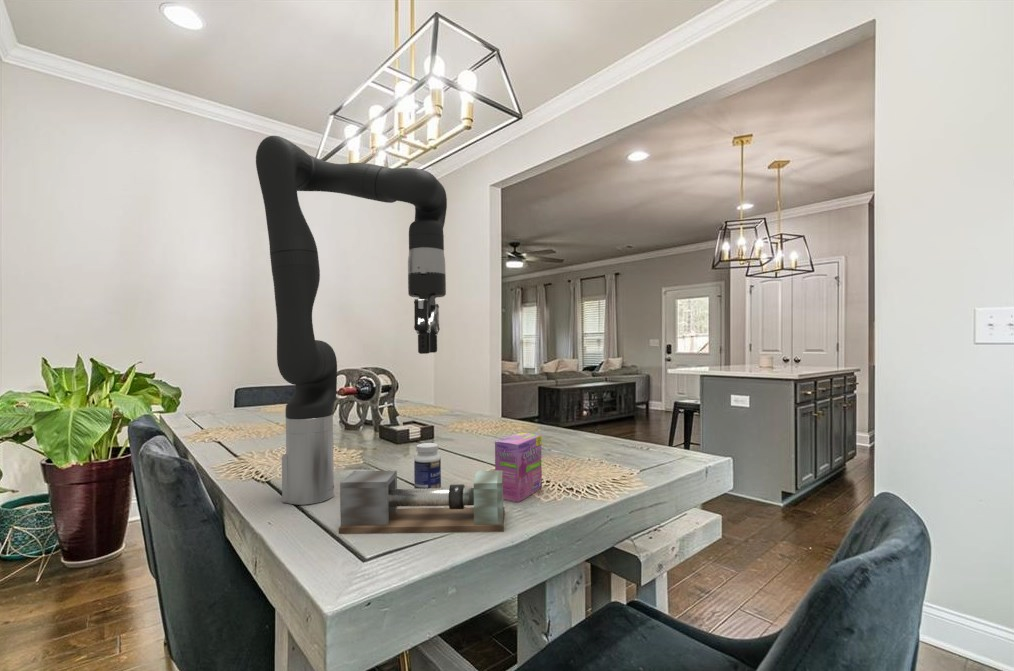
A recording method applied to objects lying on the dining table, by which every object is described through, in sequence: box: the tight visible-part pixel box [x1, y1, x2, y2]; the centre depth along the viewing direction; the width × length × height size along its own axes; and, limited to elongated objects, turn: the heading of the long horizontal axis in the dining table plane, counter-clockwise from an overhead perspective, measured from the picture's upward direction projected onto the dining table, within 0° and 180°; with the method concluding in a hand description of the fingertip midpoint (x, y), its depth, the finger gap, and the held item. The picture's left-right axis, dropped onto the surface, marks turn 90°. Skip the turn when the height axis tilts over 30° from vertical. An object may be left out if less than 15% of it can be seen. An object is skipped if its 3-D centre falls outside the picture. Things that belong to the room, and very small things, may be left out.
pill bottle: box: [413, 442, 442, 489], centre depth 103 cm, size 6×6×10 cm
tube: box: [388, 483, 474, 509], centre depth 84 cm, size 18×4×4 cm, turn 89°
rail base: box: [338, 469, 506, 535], centre depth 84 cm, size 28×9×8 cm, turn 89°
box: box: [494, 432, 543, 503], centre depth 100 cm, size 10×6×12 cm, turn 148°
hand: (428, 353), depth 95 cm, fingers open, 8 cm apart
